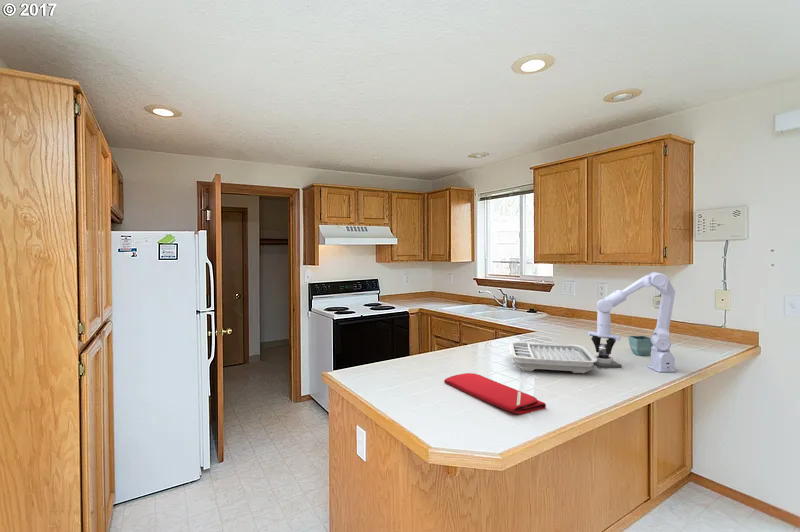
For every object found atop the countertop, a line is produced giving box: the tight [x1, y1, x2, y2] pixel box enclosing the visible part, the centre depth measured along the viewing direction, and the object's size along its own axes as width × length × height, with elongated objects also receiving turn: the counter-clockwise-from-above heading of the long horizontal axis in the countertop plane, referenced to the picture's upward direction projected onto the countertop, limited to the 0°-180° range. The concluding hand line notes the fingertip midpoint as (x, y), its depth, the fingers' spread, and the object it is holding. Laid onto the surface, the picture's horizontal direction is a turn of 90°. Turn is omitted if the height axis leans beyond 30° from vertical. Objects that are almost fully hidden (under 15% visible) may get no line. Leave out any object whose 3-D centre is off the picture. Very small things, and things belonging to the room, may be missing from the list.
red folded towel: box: [444, 372, 547, 415], centre depth 159 cm, size 16×41×4 cm, turn 28°
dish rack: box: [508, 341, 597, 374], centre depth 196 cm, size 32×37×8 cm
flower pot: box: [628, 335, 653, 356], centre depth 215 cm, size 9×9×9 cm
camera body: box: [593, 353, 623, 369], centre depth 198 cm, size 14×10×4 cm
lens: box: [597, 343, 610, 358], centre depth 198 cm, size 5×5×6 cm
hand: (603, 353), depth 197 cm, fingers closed on lens, 5 cm apart
